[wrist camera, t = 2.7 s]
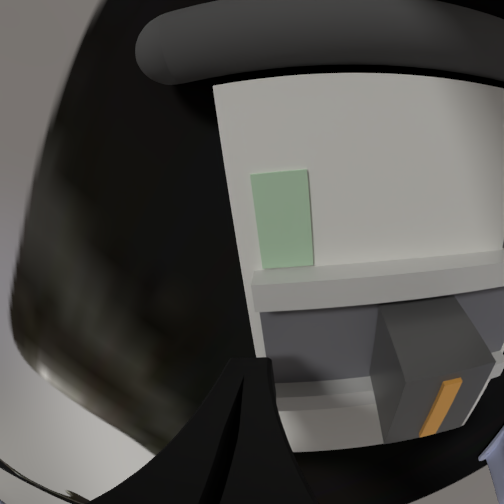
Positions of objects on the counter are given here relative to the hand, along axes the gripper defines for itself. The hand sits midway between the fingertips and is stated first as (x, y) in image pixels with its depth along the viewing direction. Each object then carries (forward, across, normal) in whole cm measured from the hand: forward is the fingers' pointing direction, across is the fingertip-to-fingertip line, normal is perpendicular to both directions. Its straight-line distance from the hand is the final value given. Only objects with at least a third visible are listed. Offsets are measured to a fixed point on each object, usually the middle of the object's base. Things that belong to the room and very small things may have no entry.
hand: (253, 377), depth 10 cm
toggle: (+1, -6, 0) cm, 6 cm away
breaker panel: (+3, -6, 0) cm, 7 cm away
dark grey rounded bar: (+3, -6, -10) cm, 12 cm away
